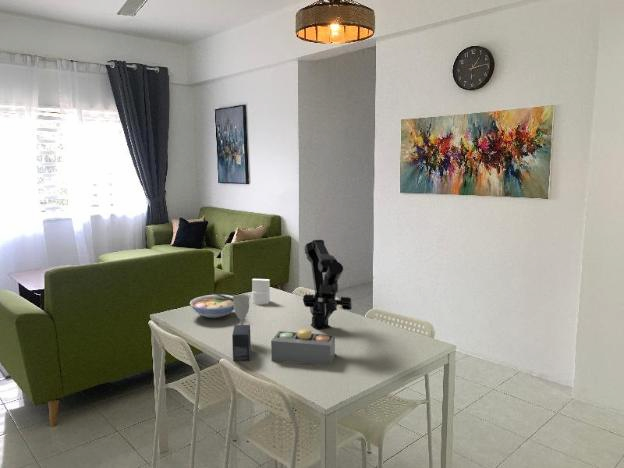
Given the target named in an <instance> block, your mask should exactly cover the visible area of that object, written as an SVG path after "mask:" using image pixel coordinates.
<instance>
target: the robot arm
mask: <svg viewBox="0 0 624 468" xmlns="http://www.w3.org/2000/svg"><path fill="white" fill-rule="evenodd" d="M304 253H305V255H306V259H307V260H308V262H309V263H310V265H311V272H312V273H311V274H312V281H313V287H314V294H307V293H305V294H304V295H303V298H302V301H303V304H304V307H306V308H309V309H310V310H309V311H310V313H311V315H312V316H311V324H310V326H312V327H314V329H317V330H322V329H328V328H331V325H329V318H330V317H331V315H333V313H334V312H336V311H337V310H338V308H337V306H341V308H342V309H343V310H346V311H347V310H348V311H351V310H353V309H352V307H353V303H352V297H350V296H341V297H340V299H336V297H337V293H339V284H338V280H340V277H341V276H342V273H343V271H344V266H343V265H342V263H341V262H339V261H338V259H336V257H335V256H333V255H331V254H330V253H329V251H328V249H327V247H326V245H325V241H324V239H313V240H312V241H310V242H308V243H306V244H305V246H304ZM324 273H325V274H324ZM323 274H324V275H323Z"/></svg>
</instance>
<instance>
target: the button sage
mask: <svg viewBox="0 0 624 468" xmlns="http://www.w3.org/2000/svg"><path fill="white" fill-rule="evenodd" d="M285 332H286V333H281V334H280V338H289V339H293V334H292V333H287V332H288V331H285Z"/></svg>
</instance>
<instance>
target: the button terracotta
mask: <svg viewBox="0 0 624 468" xmlns="http://www.w3.org/2000/svg"><path fill="white" fill-rule="evenodd" d="M326 335H327V334H325V335H319V336H317V337H316V341H327V342H330V337H329V336H326Z"/></svg>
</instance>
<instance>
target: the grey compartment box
mask: <svg viewBox="0 0 624 468" xmlns="http://www.w3.org/2000/svg"><path fill="white" fill-rule="evenodd" d="M286 332H287V333H292V334H293V339H289V338H280V334H281V333H286ZM319 335H326V336H329V337H330V342H327V341H316V337H317V336H319ZM335 338H336V335H335V334H323V333H312V332H311V340H302V339H298V331H282V330H279V331H277V333H276V334H275V335H274V336H273V338H272V339H271V341H270V342H271V343H270V344H271V345H270V347H271V349H270V350H271V356H270V357H271V361H275V362H276V361H277V362H285V363H298V364H310V365H321V366H331V364H332V361H333V359H334V357H335V354H336V339H335Z"/></svg>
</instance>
